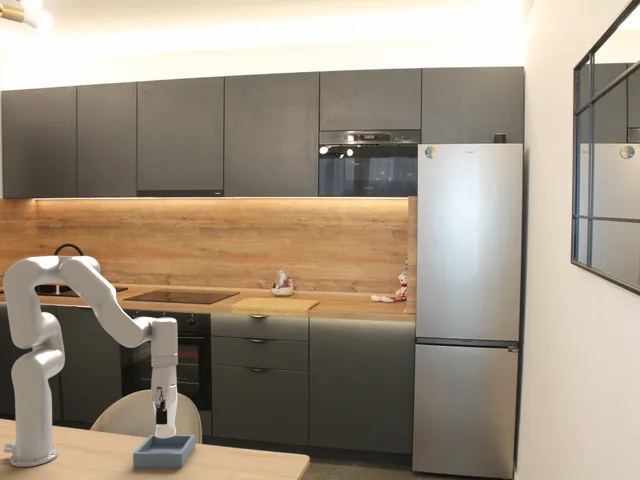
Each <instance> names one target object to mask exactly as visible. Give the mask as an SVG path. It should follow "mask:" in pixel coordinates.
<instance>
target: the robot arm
mask: <svg viewBox="0 0 640 480" xmlns="http://www.w3.org/2000/svg"><path fill="white" fill-rule="evenodd" d="M101 269H102V268H101V265H100V263H99V262H98V260H97V259H95V258H94V257H92V256H89V255H77V256H76V255H41V256H31V257H25V258H22V259H20V260H17V261H15V262H14V263H13V264H12V265H10V267H8V269H7V270H6V271H5V274H4V277H3V278H2V288H3V293H4V298H5V302H6V308H7V317H8V324H9V330H10V335H11V340H12V343H13V345H15V347H17V348H19V349H23V350H25V349H31V348H32V351H29V352H28V353H25V354H23V355H22V356H20V357H19V358H17V359H16V360H15V362H14V363H13V365H12V368H11V374H10V375H11V381H12V384H13V389H14V406H15V407H14V408H15V443H13V442H7V443H5V445H4V449H3V453H5V454H8V453H11V456H10V457H9V464H10V465H11V466H14V467H16V468H17V467H18V468H26V467H27V468H28V467H35V466H38V465H43V464H46V463H47V462H50V461H52V460H54V459H55V458H56V457H58V455H59V449H58V448H57V447H55V446H53V404H52V403H53V401H52V399H53V397H52V389H51V387H50V385H49V381H48V380H49V379H50V378H52V377H54V376H55V375H57V374H59V373H60V372H61V371H62V369H63V368H64V365H65V363H66V357H65V356H66V355H65V348H64V347H65V345H64V340H63V333H62V328H61V324H60V321H59V320H58V319H57V317H56V316H55V315H54V314H52V313H50V312H47V311H42V309H41V302H40V298H39V295H38V293H37V291H36V290H35V288H36V287H37V286H40V285H47V284H48V285H49V284H51V283H52V284H55V283H58V284H59V283H65V284H66V285H67V286H68V287H69V288H70V289H71V290H72V291H73V292H74V293H75V294H77V296H78V297H80V298H81V299H82V301H84V302H85V303H86V304H87V305H88V306H89V307H90V308H91V309H92V310H93V313H94V315H95V317H96V318H97V321H98V322H99V324H100V326H101V327H102V329H104V331H105V332H107V334H108V335H110V337H112V338H113V339H114V340H115V341H116V342H117V343H119V344H120V345H122V346H124V347H125V348H130V349H131V348H132V349H133V348H136V347H138V346H140V345H141V344H143V343H146V342H149V341H151V342H150V343H151V345H150V346H151V347H150V351H151V352H150V353H151V367H152V372H151V381H150V382H151V383H150V384H151V387H150V390H151V391H150V399H151V400H150V401H152V402H153V401H154V404H155V407H156V409H155V411H156V417H155V425H156V424H157V425H166V424H167V410H166V401H167V400H169V395H170V387H171V386H174V385H175V383H176V384H178V383H177V382H178V379H177V378H178V377H177V365H178V364H179V357H178V355H179V354H178V351H179V349H178V347H179V346H178V345H179V344H178V339H179V338H178V321H177V319H176V318H173V317H159V318H157V317H150V316H149V317H148V316H139V317H136V318H133V319H132V318H131V316H129V315H128V314H127V313H126V312H125V311H124V310H123V309H122V308H121V306H120V305H119V304H118V301H117V290H116V288H115V286H114V285H112V284H111V282H109V281H108V280H107V279H106V278H105V277H103V275H102V274H101ZM162 395H163V397H165V399H164V400H161V396H162ZM161 402H164V405H162V404H161Z"/></svg>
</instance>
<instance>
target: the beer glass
mask: <svg viewBox="0 0 640 480" xmlns="http://www.w3.org/2000/svg"><path fill="white" fill-rule="evenodd" d="M177 384H178V383H177ZM177 384H176V383H175V385H174V386H171V387H170V395H169V400H167V401H166V410H167V424H166V425H157V424H156V423H155V425H156V428H155V432H154V433H155V434H154V435H155V437H157V438H160V439H165V438H171V437H173V436H175V435H177V428H176V423H175V422H176V416H177V415H176V414H177V408H178V387H177ZM164 399H165V397H163V395H162V396H161V400H164ZM152 402H153V403H152V405H153V410H154V411H153V412H154V416H155V418H156V411H155V409H156V407H155V404H154V401H152ZM161 404H162V405H164V402H161Z"/></svg>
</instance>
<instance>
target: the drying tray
mask: <svg viewBox="0 0 640 480" xmlns="http://www.w3.org/2000/svg"><path fill="white" fill-rule="evenodd" d="M195 449H196V435H195V434H176V435H175V436H173V437H171V438H165V439H160V438H157V437H155V434H149V436H148V437H147V438H146V439H145V440H144V441H143V443H142V444H140V446H139V447H138V448H137V449H135V451H134V452H133V454H132V456H133V457H132V458H133V459H132V460H133V462H132V465H133V467H132V468H135V469H136V468H137V469H139V468H145V469H146V468H151V469H152V468H153V469H155V468H156V469H158V468H159V469H160V468H162V469H165V468H167V469H169V468H170V469H182V468H183V467H184V466H185V464H186V462H187V461H188V459H189V458H190V457H191V455H192V454H193V452H194V451H195Z"/></svg>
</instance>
